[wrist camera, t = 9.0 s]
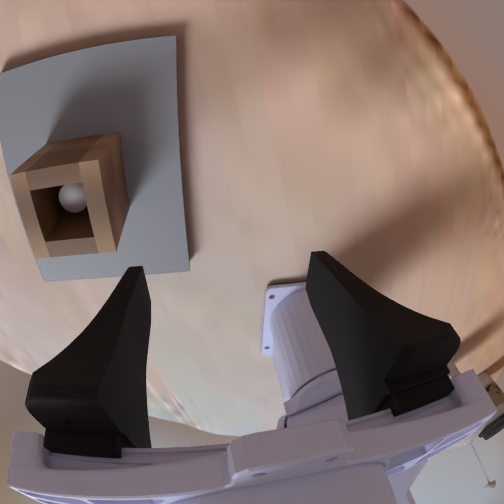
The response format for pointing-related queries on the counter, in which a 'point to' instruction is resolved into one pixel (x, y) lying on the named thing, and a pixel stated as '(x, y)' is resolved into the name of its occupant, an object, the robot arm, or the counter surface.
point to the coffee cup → (500, 400)
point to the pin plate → (102, 122)
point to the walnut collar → (95, 190)
